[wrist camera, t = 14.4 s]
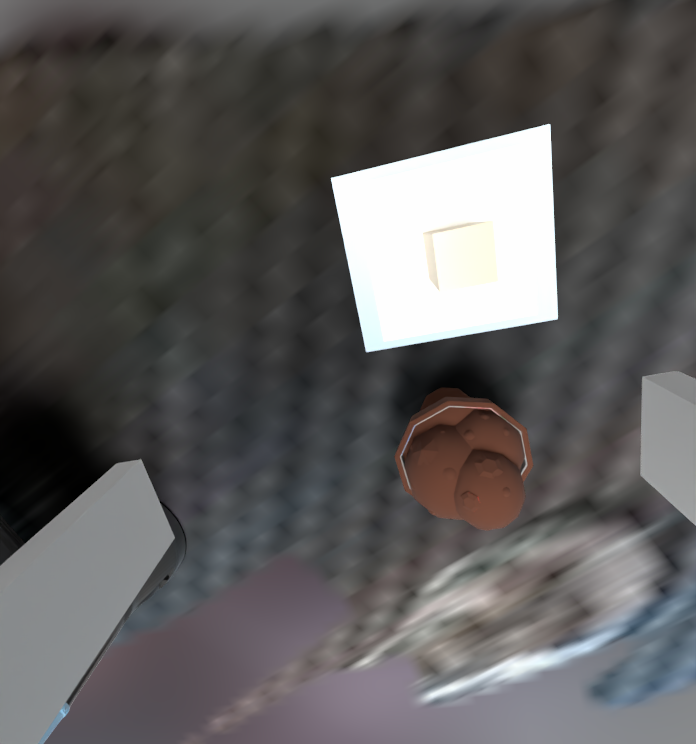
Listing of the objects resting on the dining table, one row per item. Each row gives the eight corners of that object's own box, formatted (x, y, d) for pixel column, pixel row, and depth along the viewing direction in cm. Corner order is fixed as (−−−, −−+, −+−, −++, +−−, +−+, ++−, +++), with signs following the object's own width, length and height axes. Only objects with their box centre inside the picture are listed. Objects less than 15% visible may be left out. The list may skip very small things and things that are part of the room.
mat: (366, 350, 40) (366, 352, 39) (331, 179, 35) (330, 178, 34) (555, 317, 37) (557, 319, 36) (547, 125, 32) (550, 123, 31)
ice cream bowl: (488, 348, 39) (545, 417, 25) (508, 446, 42) (568, 555, 28) (383, 375, 41) (380, 453, 27) (410, 466, 44) (420, 577, 30)
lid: (384, 339, 39) (382, 369, 30) (355, 185, 34) (345, 172, 26) (534, 312, 36) (576, 337, 28) (524, 144, 32) (571, 115, 24)
